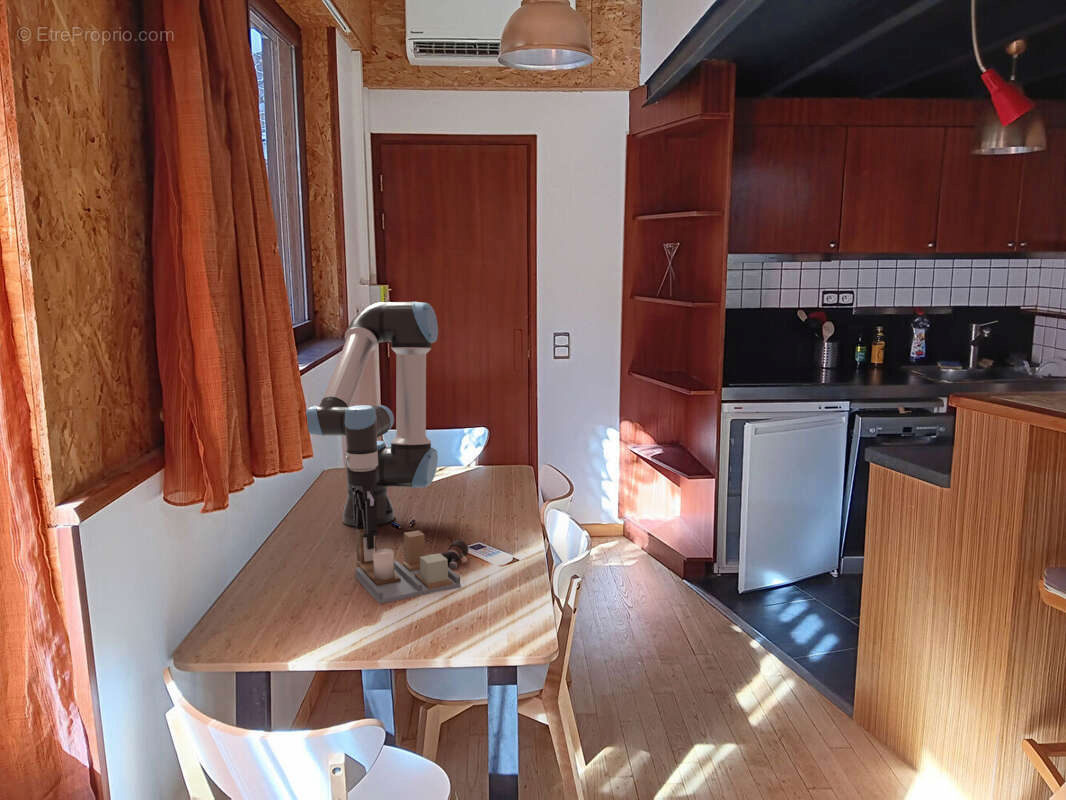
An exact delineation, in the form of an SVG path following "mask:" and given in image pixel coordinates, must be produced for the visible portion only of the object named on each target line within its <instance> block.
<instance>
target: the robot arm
mask: <svg viewBox="0 0 1066 800" xmlns="http://www.w3.org/2000/svg"><path fill="white" fill-rule="evenodd" d="M438 335H439V325H438V319H437V314H436V313H435V309H434V308H433V307H432V305H431V304H430V303H428V302H420V301H393V302H391V301H388V302H386V301H380V302H376V303H373V304H370V305H368V306H367V307H365V308H364V309H362V310H361V311H360V312H359V313H358V314H357V315H356V316H355V317H354V318H353V319H352V320H351V322H350V323H349V325H348V327H347V329H346V330H345V332H344V340H345V343H344V345H343V348H342V350H341V352H340V354H339V355H340V356H339V357H338V360H337V362H336V365H335V367H334V369H333V373H332V375H331V376H330V379H329V381H328V384H327V387H326V389H325V391H324V395H323V397H322V399H321V402H320V404H319V405H314V406H313V405H312V406H309V407H308V408H307V409H306V411H305V413H306V415H307V422H308V430H309V432H308V433H309V434H310V435H315V436H317V435H318V436H323V437H325V436H342V437H343V436H345V445H346V452H345V457H344V461H345V462H344V463H345V470H346V486H347V490H346V491H347V496H346V499H345V500H346V501H345V504H344V508H343V511H342V522H343V523H344V524H345V525H347V526H352V527H355V528H356V530H360V529H364V535H362V538H363V542H364V561H365V562H367V561H373V552H374V551H375V535H376V536H378V533H379V532H378V531H379V530H378V526H382V525H385V524H388V523H391V522H392V521H393V520H394V519H395V510H394V507H393V504H392V501H391V499H390V497H389V494H388V487H391V488H396V487H397V488H412V489H418V488H419V489H421V488H427V487H429V486H430V485H431V484H432V482H433V480H434V479H435V475H436V472H437V467H438V462H439V461H438V460H439V457H438V451H437V449H436V448H434V447H432V441H431V440H430V439H429V438H428V437H427V435H426V434H427V430H426V429H427V428H426V427H427V415H426V414H427V354H428V353H429V352H430V351H431V349H432V344H434V343H436V342H437V340H438ZM380 343H390V345H391V346H390V348H391V350H392V351H393V352H394V353H395V355H396V358H395V359H396V362H395V364H396V375H395V376H396V377H395V378H396V380H395V381H396V382H395V383H396V384H395V385H396V392H395V393H396V395H395V396H396V399H395V402H396V413H395V414H396V418H395V417H394V413H393V411H392V410H391V408H389V407H387V406H385V405H382V404H379V405H378V404H377V405H374V406H372V405H368V404H365V405H364V404H363V405H362V404H361V405H353V406H351V404H352V402H353V399H354V397H355V394H356V392H357V388H358V386H359V383H360V382H361V378H362V376H363V373H364V371H365V368H366V365H367V364H368V361H369V358H370V356H371V353H372V352H373V351H375V350H376V349H377V347H378V345H379V344H380ZM395 420H396V421H395ZM395 422H396V423H395ZM394 423H395V425H396V426H395V431H396V433H395V434H396V435H395V437H394V438H393V439H392V440H391V441H390V446H389V447H388V446H387V444H386V442H385V441H383V440H378V438H379V437H381V436H383V435H385V434H387V433H388V432H389V430H391V429H392V427H393V426H394Z"/></svg>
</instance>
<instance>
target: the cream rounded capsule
mask: <svg viewBox="0 0 1066 800" xmlns="http://www.w3.org/2000/svg"><path fill="white" fill-rule="evenodd" d="M394 555H395V551H394V550H393V549H390V548H380V549H376V551H374V552H373V560H374V578H375V579H377V580H388V579H391V578H393V577H394V576H395V574H394V561H395V556H394Z"/></svg>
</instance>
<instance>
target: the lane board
mask: <svg viewBox="0 0 1066 800" xmlns="http://www.w3.org/2000/svg"><path fill="white" fill-rule="evenodd" d="M425 539H426V538H425V534H424V533H423V532H422V531H420V530H419V529H418V530H413V531H408V532H403V546H404V547H403V550H404V561H403V562H402V563H400V562H399V561H398V560H394V572H395V573H396V574H397V575H398V576H399V577H400V578H401V581H399V582H394V583H389V584H384V585H379V586H376V585H375V584H374V583H373V582H372V580H371V579H370V578H369V577H368V576H367V575H366V574H365V573H364V572H363V571H362V570H361V569H360V568H359V567H355V570H354V572H355V578H356V580H357V581H358V582H359V583H360V585H361V586H363V588H364V589H365V590H366V591H367V593H369V595H370V596H371V597H372V598H373V600H375V602H377V603H378V605H380V604H381V605H382V604H386V603H390V602H396V601H399V600H404V599H410V598H414V597H419V596H424V595H429V594H434V593H439V592H443V591H448V590H453V589H457V588H461V586H462V585H461V576H460V575H459V574H457V573H456V572H455V571H454V570H452V568H450V566H448V580H444V581H439V582H434V583H429V584H428V583H427V582H426V581H425V580H424V579H423V578H421V573H420V557H421V556H426V541H425ZM432 554H433V553H430V554H428V555H432Z"/></svg>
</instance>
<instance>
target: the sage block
mask: <svg viewBox="0 0 1066 800" xmlns="http://www.w3.org/2000/svg"><path fill="white" fill-rule="evenodd" d="M431 554H432V555H429V554H427V555H425V556H421V557H420V573H421V578H423V579H424V580H425V581H426V582H427V583H428V584H429V583H434V582H439V581H444V580H448V567H449V563H448V559H446V558H445V557H444V556H443V555H441V554H440V552H439V553H431Z"/></svg>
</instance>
